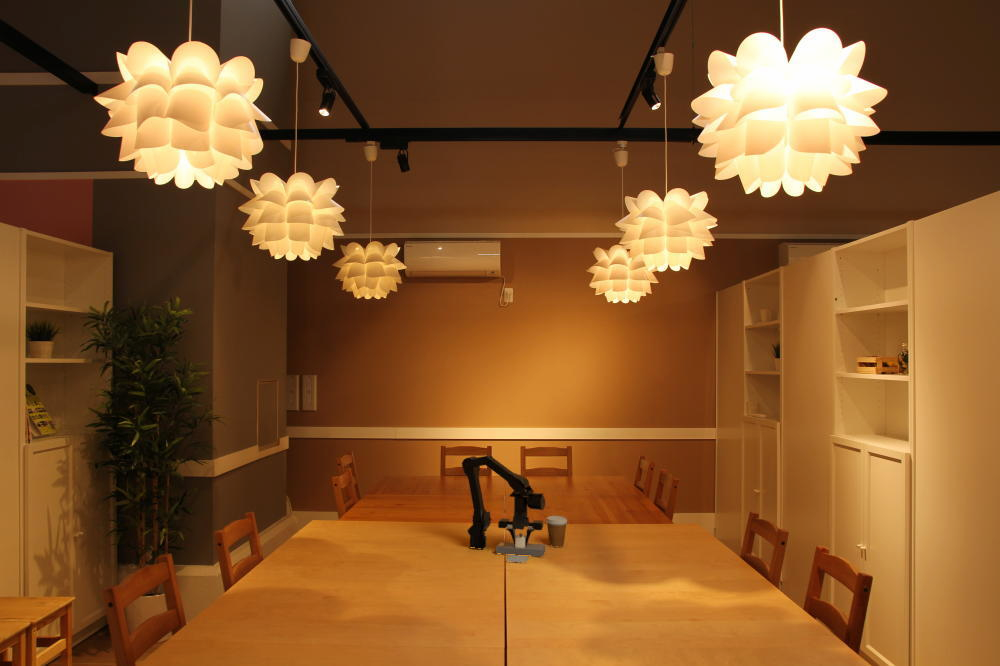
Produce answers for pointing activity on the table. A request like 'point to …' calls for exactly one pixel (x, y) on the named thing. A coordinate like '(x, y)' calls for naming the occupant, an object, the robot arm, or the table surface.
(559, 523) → the disposable coffee cup
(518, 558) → the grey square plate
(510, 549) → the grey flat block
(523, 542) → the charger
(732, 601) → the table surface
